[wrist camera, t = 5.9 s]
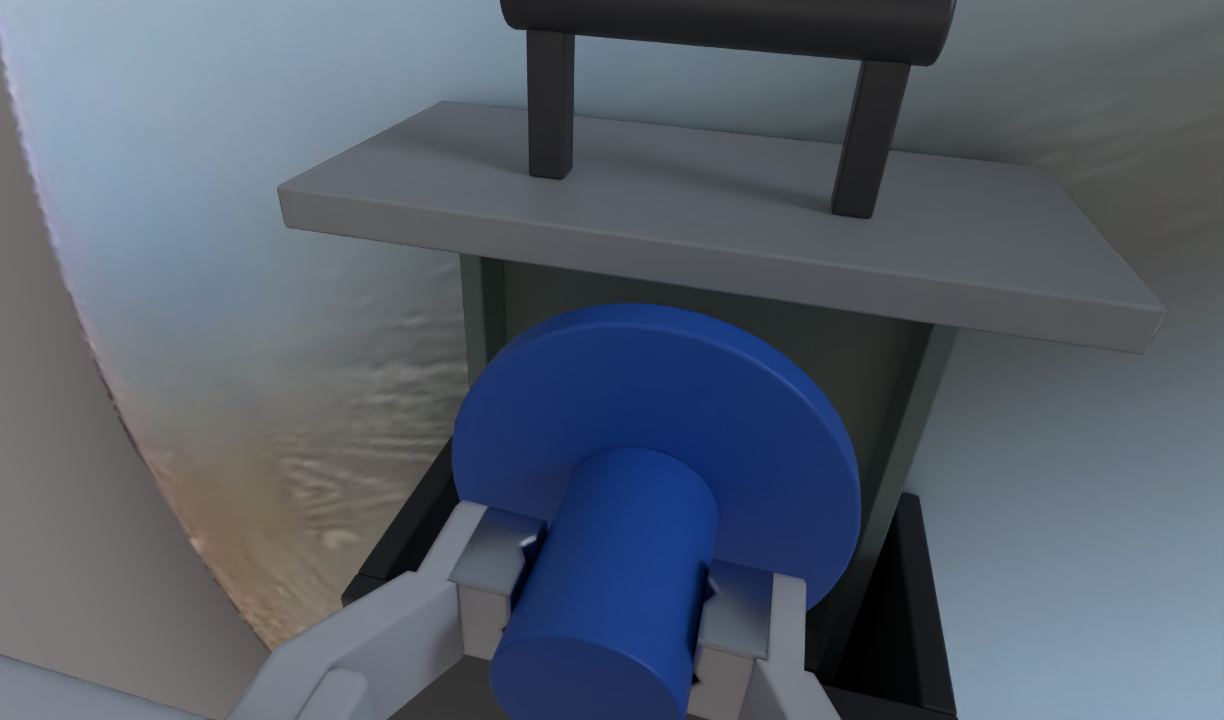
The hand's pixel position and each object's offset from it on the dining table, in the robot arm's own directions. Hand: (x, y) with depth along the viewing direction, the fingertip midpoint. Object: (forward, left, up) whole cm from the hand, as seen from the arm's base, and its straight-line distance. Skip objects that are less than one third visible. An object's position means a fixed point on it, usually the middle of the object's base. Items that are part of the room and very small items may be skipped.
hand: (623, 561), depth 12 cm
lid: (0, 0, -2) cm, 2 cm away
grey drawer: (+2, 0, -9) cm, 9 cm away
